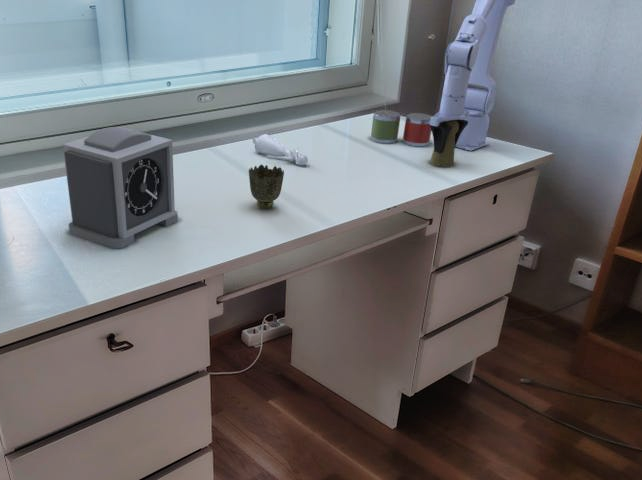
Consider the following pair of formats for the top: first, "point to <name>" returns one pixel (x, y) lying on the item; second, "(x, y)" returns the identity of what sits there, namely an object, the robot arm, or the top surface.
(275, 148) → the woman figurine
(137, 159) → the alarm clock
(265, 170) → the cup
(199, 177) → the top surface
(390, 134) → the green tin
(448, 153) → the cork
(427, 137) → the red tin
